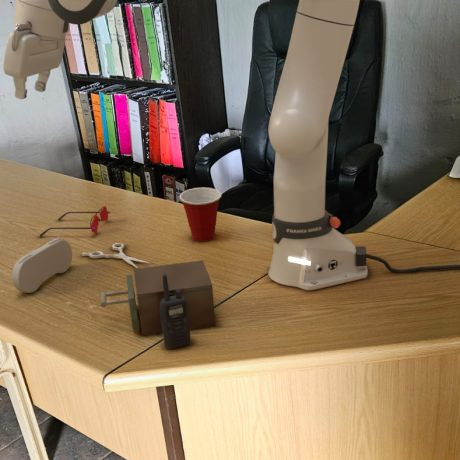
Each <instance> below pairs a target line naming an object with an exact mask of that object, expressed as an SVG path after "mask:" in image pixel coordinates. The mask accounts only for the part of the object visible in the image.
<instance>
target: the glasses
mask: <svg viewBox="0 0 460 460" xmlns="http://www.w3.org/2000/svg"><path fill="white" fill-rule="evenodd" d="M107 209H108V208H107V205H104V206H102V207H101V208H100V209H99V210H98V211H68V212H65V213H64V214H62V215H61V216H60V217H58V218H57V220H58V221H61V220H62V219H63V218H65V216H66V215H68V214H94V215H92V217H91V219H90V221H89V227H49V228H47V229H45V230H44V231H43V232H41V233H40V234H39V237H41V238H42V236H44V235H45V234H46V233H47V232H49V231H50V230H91V232H92V233H94V234H98V229H99V222H108V221H109V214H111V211H110V210H107ZM98 214H99V216H98Z"/></svg>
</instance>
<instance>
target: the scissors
mask: <svg viewBox="0 0 460 460" xmlns="http://www.w3.org/2000/svg"><path fill="white" fill-rule="evenodd" d="M111 247H112V248H111V249H112V250H113V251H119V253H112V254H107V253H104V252H103V251H100V250H98V251H91V252H82V253H81V256H83V257H89V258H91V259H101V258H107V259H108V258H114V259H122V260H123V261H125V262H126V263H127V264H129V265H131V266H133V267H134V268H135V269H136V268H139V267H138V266H137V265H136V264H135V263H134V262H133V261H135V262H141V263H146V264H147V263H148V264H150V262H149V261H145V260H142V259H139V258H135V257H132V256H131V257H130V256H128V255H127V254H125V253H124V251H123V250H124V249H125V244H124V243H123V242H116V243H113V244H112V245H111Z"/></svg>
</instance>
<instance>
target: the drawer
mask: <svg viewBox="0 0 460 460" xmlns="http://www.w3.org/2000/svg"><path fill="white" fill-rule="evenodd" d="M125 279H126V289H127V290H119V291H111V292H106V291H101V292H100V295H99V296H100V297H99V298H100V301H99V302H100V307H101V308H107V306H110V305H111V306H113V305H119V304H127V303H128V305H129V313H130V318H131V325H132V331H133V332H140V323H139V316H138V308H137V306H138V305H137V299H136V293H135V292H136V291H135V287H134V280H133V274H132V273H131V274H126V275H125ZM121 295H122V296H123V295H127V298H123V299H113V300H108V299H107V297H114V296H121Z"/></svg>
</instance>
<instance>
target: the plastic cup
mask: <svg viewBox="0 0 460 460" xmlns="http://www.w3.org/2000/svg"><path fill="white" fill-rule="evenodd" d="M221 198H222V192H221V191H220V190H218V189H216V188H212V187H193V188H188V189H186V190H184V191H182V192H181V193H180V194H179V200H180V201H181V203H182V205H183V209H184V212H185V215H186V219H187V222H188V227H189V229H190V233H191V237H192V239H193V240H194V241H196V242H207V241H212V240H213V239H214V238H215V234H216V226H217V218H218V208H219V203H220V199H221Z"/></svg>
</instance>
